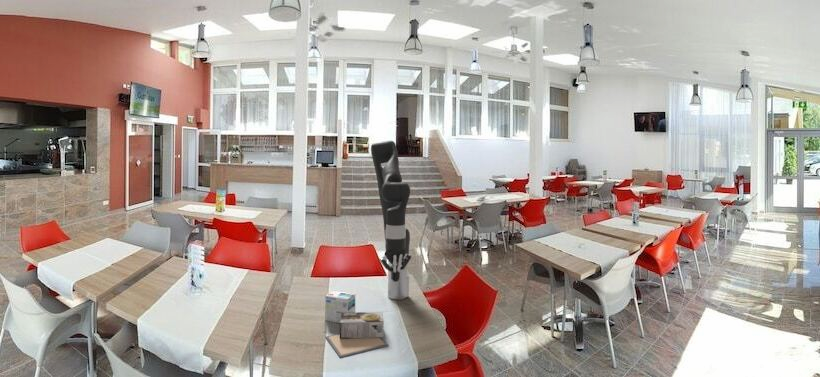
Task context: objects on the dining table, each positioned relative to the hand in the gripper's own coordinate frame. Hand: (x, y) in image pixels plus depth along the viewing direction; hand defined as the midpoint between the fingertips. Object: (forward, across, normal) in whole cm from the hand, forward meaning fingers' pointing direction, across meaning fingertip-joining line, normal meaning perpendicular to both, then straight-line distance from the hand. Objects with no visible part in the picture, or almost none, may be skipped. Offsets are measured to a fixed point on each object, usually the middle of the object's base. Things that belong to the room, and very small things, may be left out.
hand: (395, 280), depth 147 cm
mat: (+20, +16, 0) cm, 26 cm away
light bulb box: (+21, +14, -21) cm, 33 cm away
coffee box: (+17, +4, -1) cm, 17 cm away
